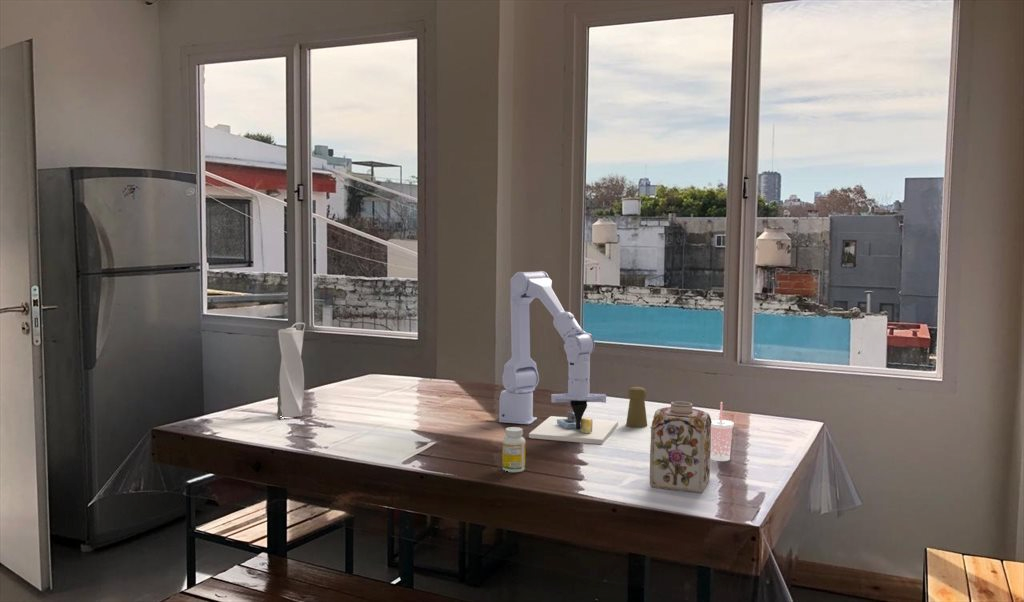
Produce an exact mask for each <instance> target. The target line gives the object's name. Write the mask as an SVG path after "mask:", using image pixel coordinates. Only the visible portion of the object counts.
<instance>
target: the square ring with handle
mask: <svg viewBox="0 0 1024 602" xmlns="http://www.w3.org/2000/svg"><path fill="white" fill-rule="evenodd" d="M591 419H592V418H590V417H582V419H581V422H580V424H581V429H577V430H579V431H581V432H583V433H590V432H592V427H591ZM557 424H559V425H561V426H563V427H565V428H567V429H569V428H575V429H576V422H574V423H568V422H567V418H566V419H557Z"/></svg>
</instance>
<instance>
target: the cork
mask: <svg viewBox="0 0 1024 602" xmlns="http://www.w3.org/2000/svg"><path fill="white" fill-rule="evenodd" d="M627 396H628V397H629V401H628V402H629V403H628V409H627V415H626V424H625V425H626V426H627V427H629V428H636V429H637V428H638V429H640V428H643V429H644V428H646V427H648V420H647V411H646V402H645V398H646V397H647V390H646V388H644V387H642V386H632V387H631V386H630V387H629V389H628V390H627Z"/></svg>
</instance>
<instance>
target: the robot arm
mask: <svg viewBox="0 0 1024 602" xmlns="http://www.w3.org/2000/svg"><path fill="white" fill-rule="evenodd" d="M552 286H553V280H552V279H551V278H550V277H549V275H548V273H547V272H546V271H545V270H539V271H517V272H516V273H514V275H513V276H512V277H510V328H511V329H510V337H511V339H510V341H511V342H510V344H511V346H510V347H511V358H510V359H509V360H508V361H507V362H505V364H504V365H503V373H502V376H501V382H502V385H503V387H504V389H503V390H501V391H500V395H499V399H498V400H499V401H498V402H499V407H498V408H499V409H498V411H499V415H498V416H499V417H498V418H499V419H498V422H499V423H508V424H519V425H531V424H532V423H534V422H535V421H536V420H537V419H538V417H536V416H533V415H534V414H533V411H534V409H533V408H534V399H533V398H534V391H536V387H537V386H538V384H539V382H540V375H539V373H538V372H539V371H538V368H537V367H538V366H537V365H538V364H537V362H535V360H533V359H532V357H531V329H530V326H531V325H530V321H531V320H530V304H531V303H532V302H533V301H534V299H539V300H540V302H541V303H542V304H543V305H544V307H545V308H546V310H548V312H549V313H550V315H551V316H552V317H553V322H552V324H553V326H554V328H555V330H556V331H557V332H558V333H559V336H560V337H561V338H562V340H563V341H564V344H563V348H564V352H565V354H566V360H567V363H568V374H567V375H568V376H567V377H568V379H567V381H568V382H567V384H568V385H567V386H568V387H567V393H553V394H552V393H551V395H550V397H551V399H550V400H551V403H554V404H556V403H570V406H571V409H572V412H574V415H575V418H576V429H581V424H580V422H581V419H582V418H583V415H584V414H585V411H586V410H587V408H588V403H603V404H604V403H607V395H606V394H605V393H590V390H591V389H590V387H591V386H590V385H591V384H590V382H591V381H590V379H591V376H590V375H591V373H590V371H591V370H590V369H591V354H592V353H593V352H594V350H595V347H596V343H595V339H594V338H593V334H591V333H589V332H586V331H585V330H583V329H582V328H581V326H580V324H579V323H578V321H577V320H576V318H575V315H574V314H573V313H571V312H570V311H565V309H564V308H563V305H562V304H561V302H560V300H559V298H558V297H557V294H556V293H555V292H554V290H553V288H552Z"/></svg>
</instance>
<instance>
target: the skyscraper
mask: <svg viewBox="0 0 1024 602" xmlns="http://www.w3.org/2000/svg"><path fill="white" fill-rule="evenodd" d="M296 325H303V328H302V330H299V329H298V330H297V327H295V326H296ZM305 328H306V322H303V321H302V322H295V323H293V324H292V325H291V327H286V328H284V329H283V328H281V329H278V330H277V333H278V343H279V349H280V355H281V360H280V368H279V372H278V379H277V381H278V387H277V401H276V403H277V405H276V406H277V411H276V415H278V416H277V419H278V418H282V417H296V416H303V413H302V412H303V406H304V405H303V404H304V397H305V395H304V394H305V373H304V371H305V370H304V366H303V360H302V351H303V345H304V335H305ZM282 414H283V416H282ZM280 416H282V417H280Z"/></svg>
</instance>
